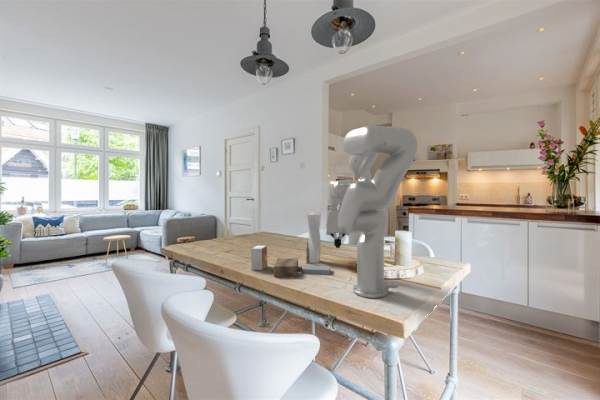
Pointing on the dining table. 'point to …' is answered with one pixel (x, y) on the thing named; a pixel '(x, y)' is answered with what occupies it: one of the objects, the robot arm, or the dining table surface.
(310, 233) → the skyscraper
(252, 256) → the small box
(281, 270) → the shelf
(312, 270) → the tile
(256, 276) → the dining table surface
